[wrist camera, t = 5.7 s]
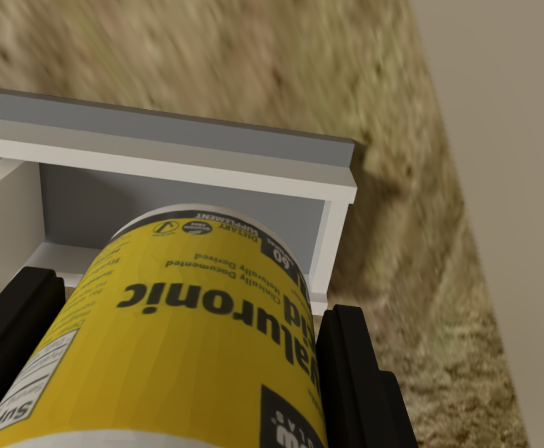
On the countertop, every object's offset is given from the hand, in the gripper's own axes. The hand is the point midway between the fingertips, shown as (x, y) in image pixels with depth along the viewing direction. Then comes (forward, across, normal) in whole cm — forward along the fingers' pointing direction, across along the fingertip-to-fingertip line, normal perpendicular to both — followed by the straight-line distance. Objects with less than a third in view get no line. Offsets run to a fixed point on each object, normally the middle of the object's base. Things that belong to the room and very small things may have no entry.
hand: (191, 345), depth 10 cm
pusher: (+19, +12, +6) cm, 23 cm away
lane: (+20, +4, +6) cm, 22 cm away
